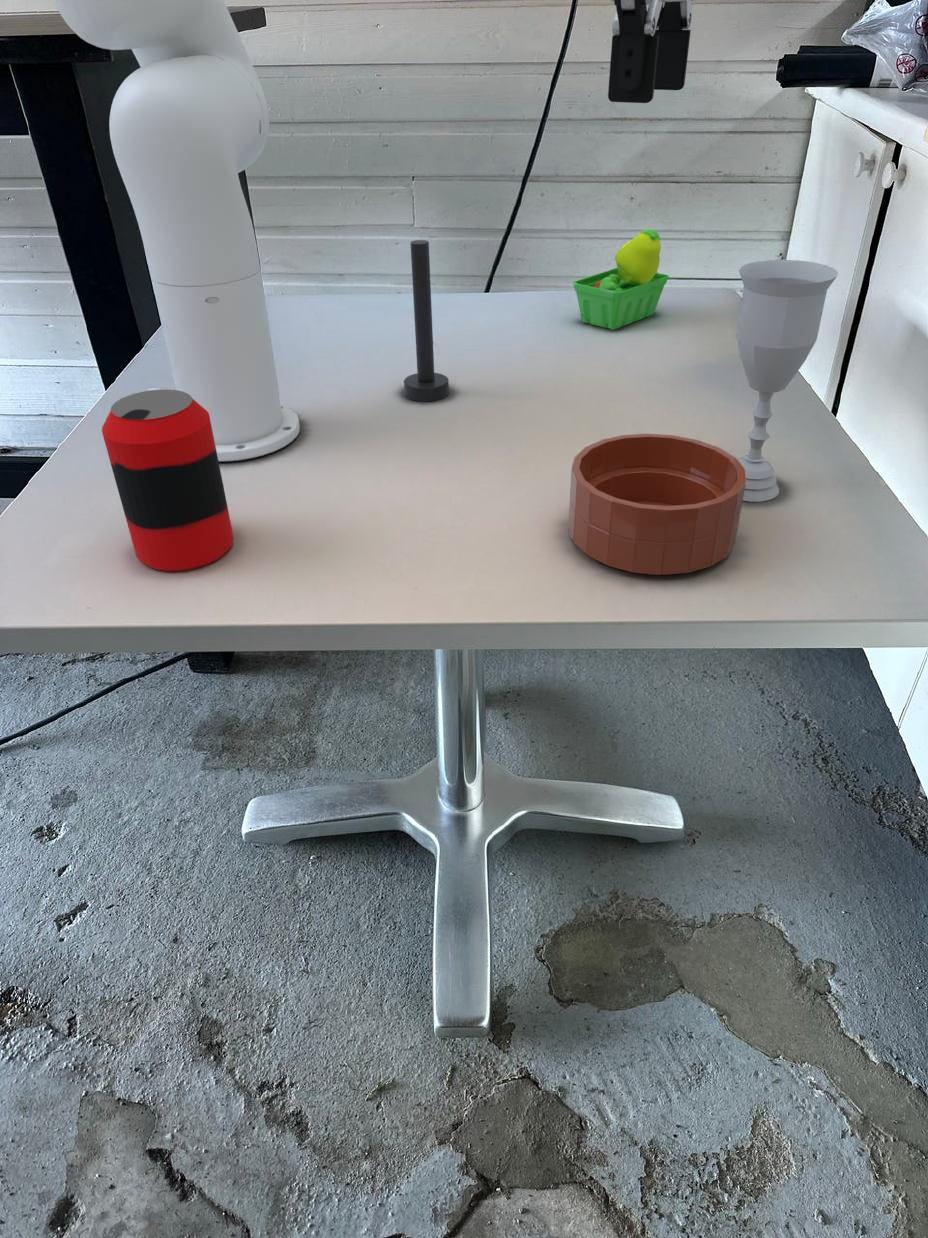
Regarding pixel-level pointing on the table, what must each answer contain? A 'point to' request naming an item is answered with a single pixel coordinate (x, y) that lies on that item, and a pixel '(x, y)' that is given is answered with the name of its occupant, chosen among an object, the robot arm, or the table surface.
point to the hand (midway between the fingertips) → (647, 95)
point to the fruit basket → (624, 285)
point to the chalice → (776, 345)
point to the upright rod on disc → (423, 332)
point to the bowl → (655, 503)
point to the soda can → (168, 479)
